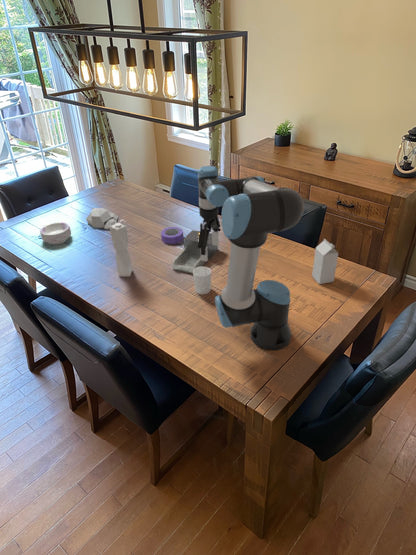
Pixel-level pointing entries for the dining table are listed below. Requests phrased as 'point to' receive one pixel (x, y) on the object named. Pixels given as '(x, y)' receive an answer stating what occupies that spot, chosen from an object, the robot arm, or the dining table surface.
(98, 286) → the dining table surface
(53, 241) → the paper bowls
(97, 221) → the rock
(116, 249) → the skyscraper
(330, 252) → the white milk carton
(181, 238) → the tape roll
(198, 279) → the white cup
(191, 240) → the grey cabinet
